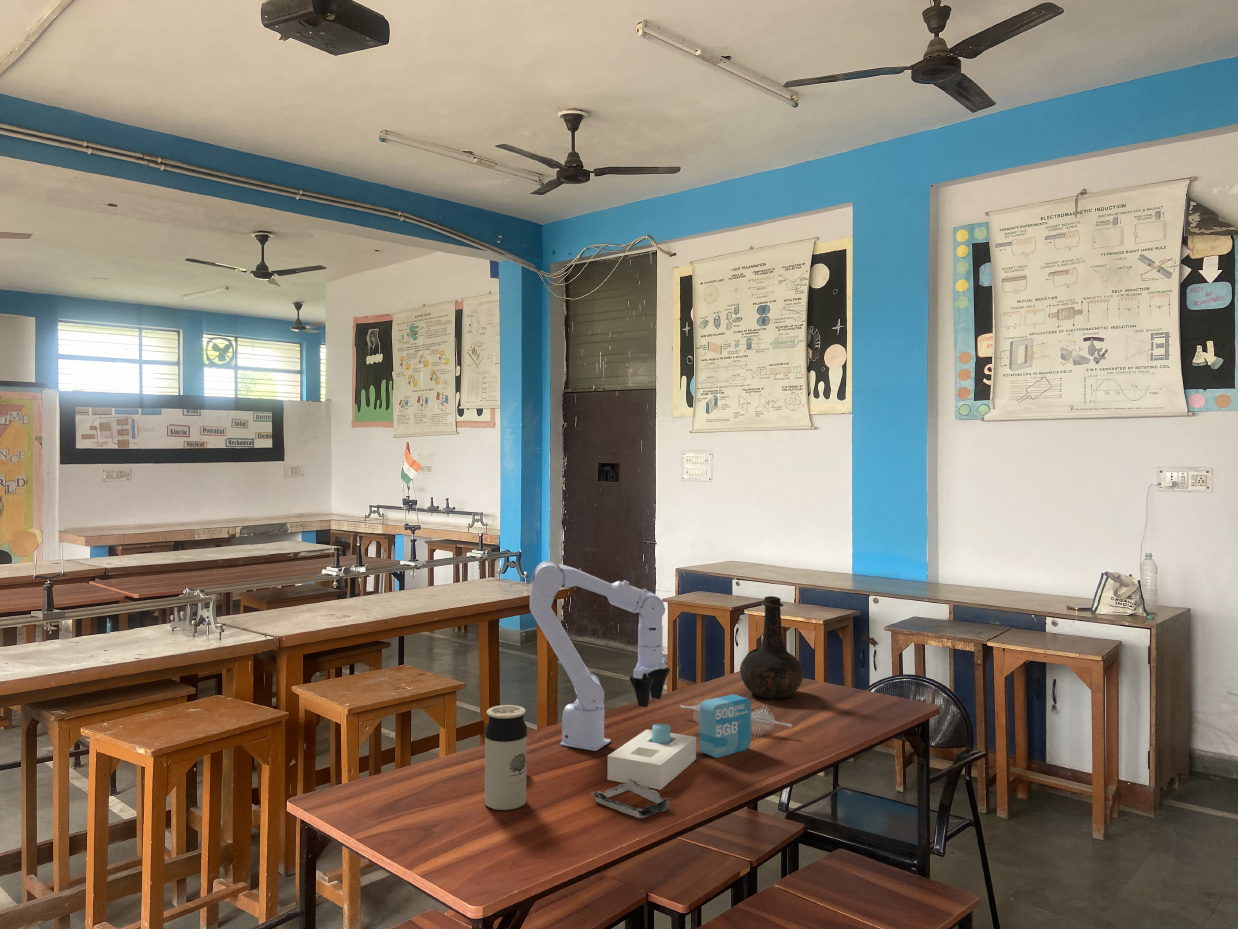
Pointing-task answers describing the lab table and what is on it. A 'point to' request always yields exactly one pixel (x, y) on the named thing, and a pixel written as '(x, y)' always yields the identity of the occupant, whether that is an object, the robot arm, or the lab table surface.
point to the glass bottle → (771, 659)
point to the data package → (725, 725)
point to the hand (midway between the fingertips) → (649, 702)
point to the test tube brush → (751, 717)
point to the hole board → (651, 760)
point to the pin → (661, 734)
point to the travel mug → (505, 757)
